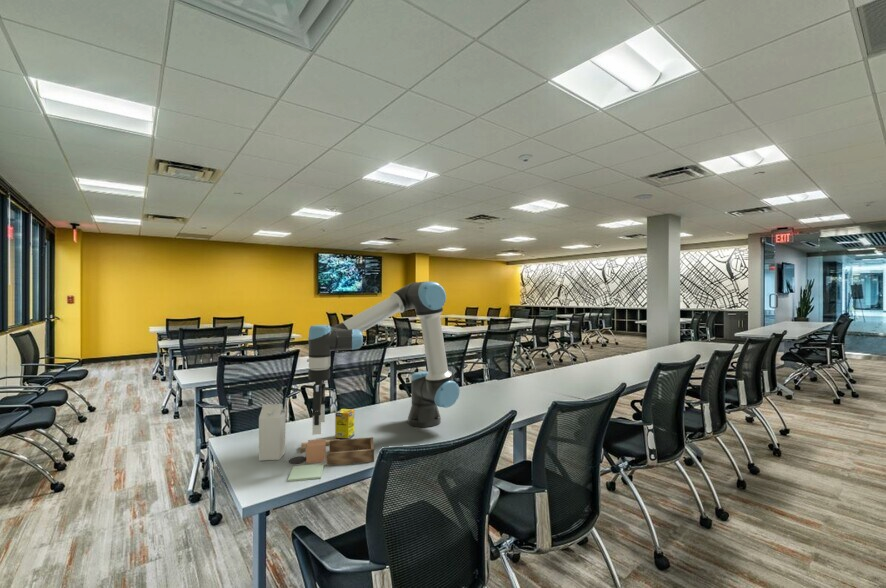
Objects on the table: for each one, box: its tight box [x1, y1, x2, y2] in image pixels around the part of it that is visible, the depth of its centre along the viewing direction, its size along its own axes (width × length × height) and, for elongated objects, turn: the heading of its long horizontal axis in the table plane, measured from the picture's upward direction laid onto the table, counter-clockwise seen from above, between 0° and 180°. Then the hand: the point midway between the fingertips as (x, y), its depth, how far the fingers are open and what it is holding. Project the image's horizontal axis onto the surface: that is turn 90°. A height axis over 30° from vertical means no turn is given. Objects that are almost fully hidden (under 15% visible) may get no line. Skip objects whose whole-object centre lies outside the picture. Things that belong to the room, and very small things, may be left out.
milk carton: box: [258, 403, 286, 461], centre depth 147 cm, size 7×7×19 cm
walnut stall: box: [326, 436, 375, 466], centre depth 147 cm, size 16×13×4 cm
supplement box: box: [334, 408, 355, 440], centre depth 166 cm, size 6×6×11 cm
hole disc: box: [288, 455, 306, 465], centre depth 143 cm, size 6×6×1 cm
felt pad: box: [287, 463, 325, 482], centre depth 133 cm, size 10×10×1 cm
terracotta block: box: [305, 438, 327, 464], centre depth 144 cm, size 6×6×6 cm
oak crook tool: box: [300, 439, 339, 454], centre depth 155 cm, size 14×6×2 cm, turn 107°
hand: (318, 427), depth 144 cm, fingers open, 13 cm apart
